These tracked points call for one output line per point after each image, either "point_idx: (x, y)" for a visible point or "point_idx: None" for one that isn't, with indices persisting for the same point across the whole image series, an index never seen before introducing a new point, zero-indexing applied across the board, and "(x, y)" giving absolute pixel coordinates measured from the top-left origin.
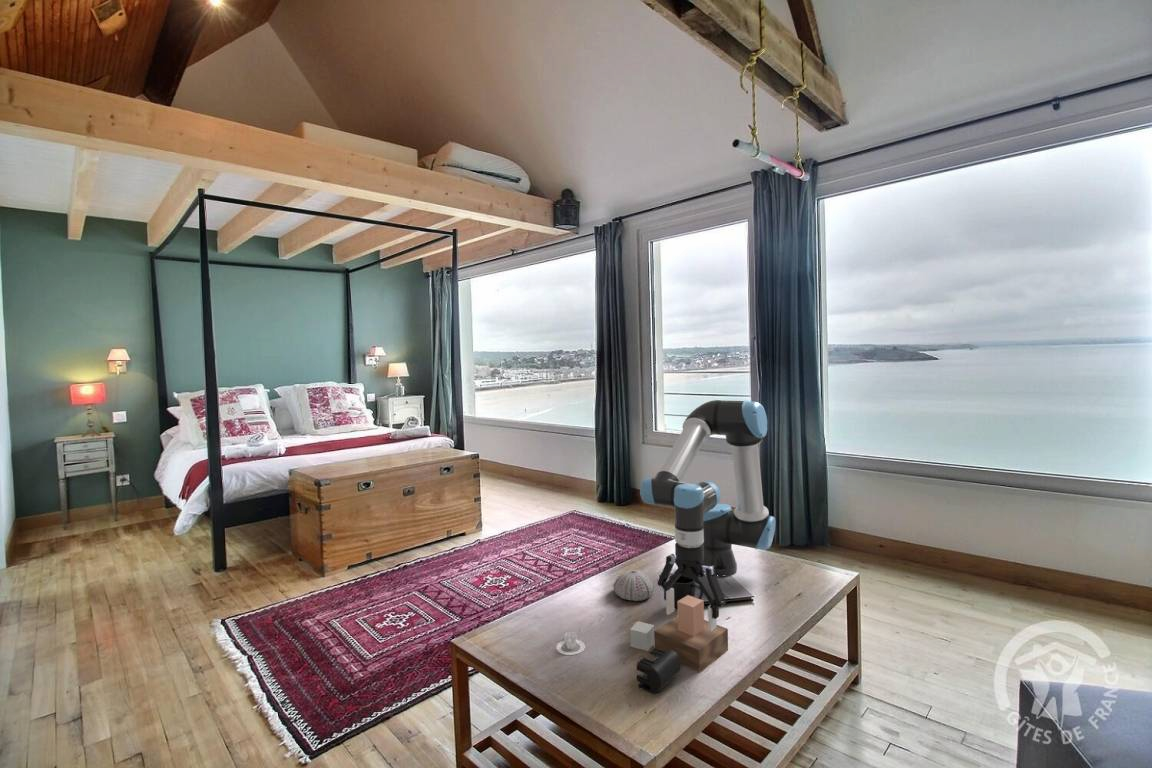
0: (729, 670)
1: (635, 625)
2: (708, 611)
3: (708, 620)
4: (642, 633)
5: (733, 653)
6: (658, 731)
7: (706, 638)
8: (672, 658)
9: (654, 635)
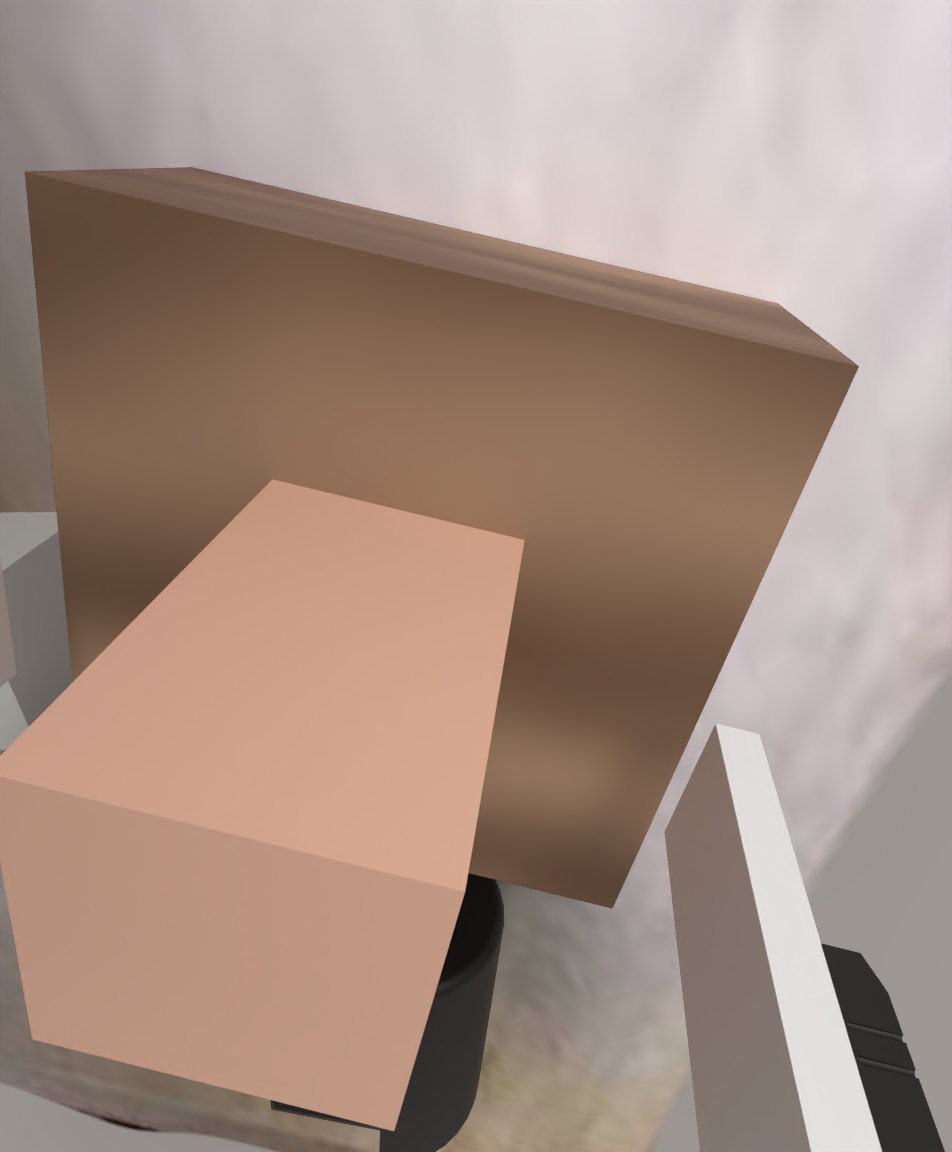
0: (839, 631)
1: None
2: (705, 1143)
3: (682, 966)
4: (3, 741)
5: (848, 337)
6: (570, 1136)
7: (619, 715)
8: (452, 1036)
9: None
